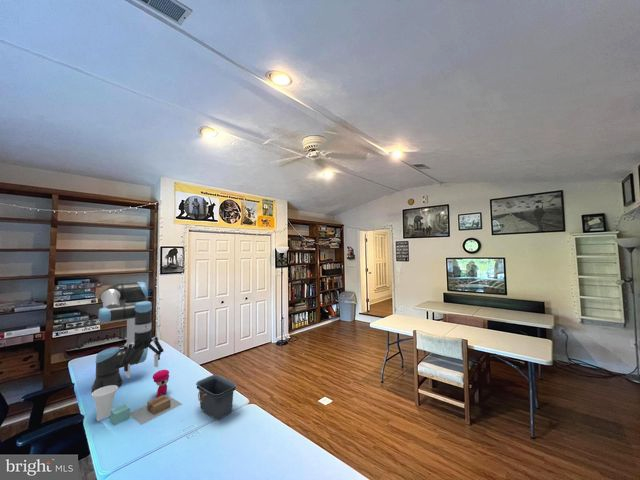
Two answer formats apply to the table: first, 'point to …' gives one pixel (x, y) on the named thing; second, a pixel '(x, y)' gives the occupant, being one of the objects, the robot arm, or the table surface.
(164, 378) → the toy
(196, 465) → the table surface
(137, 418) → the build plate
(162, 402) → the walnut brick
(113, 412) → the teal brick
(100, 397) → the cup
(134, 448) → the table surface
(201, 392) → the storage bin
